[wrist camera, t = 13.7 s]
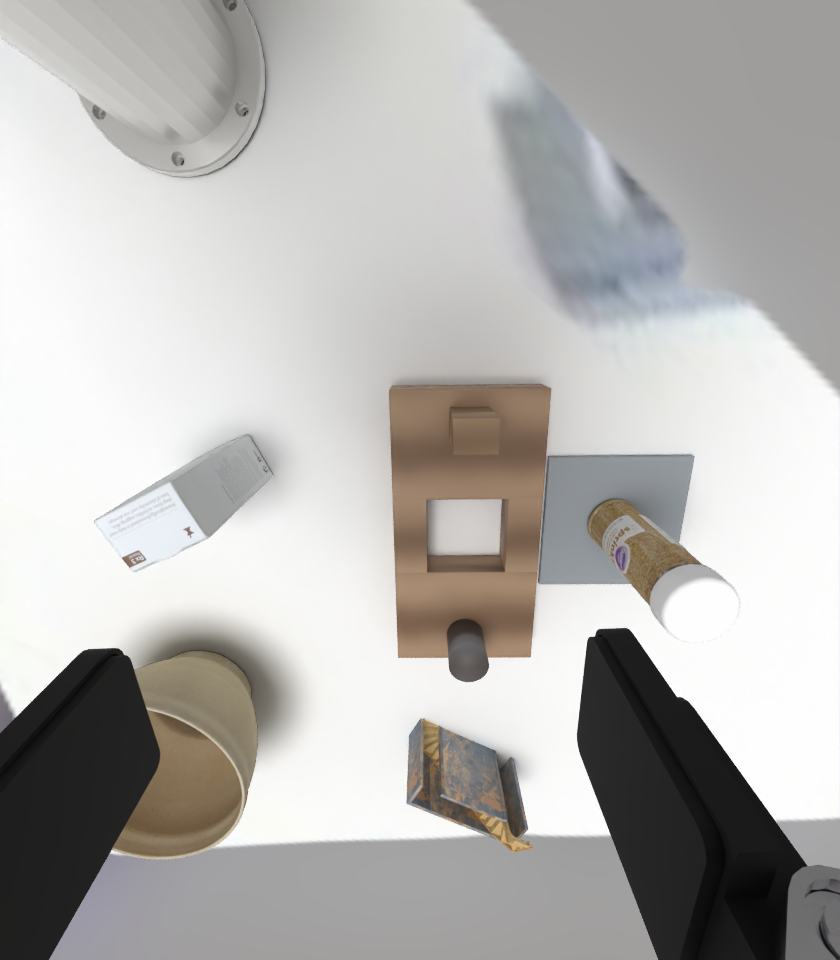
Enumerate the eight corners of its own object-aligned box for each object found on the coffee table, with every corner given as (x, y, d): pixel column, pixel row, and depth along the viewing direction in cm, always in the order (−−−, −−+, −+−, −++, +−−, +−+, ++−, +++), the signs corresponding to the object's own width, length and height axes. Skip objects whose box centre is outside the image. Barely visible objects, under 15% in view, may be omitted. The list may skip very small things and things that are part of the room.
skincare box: (248, 431, 37) (169, 474, 26) (276, 477, 39) (212, 537, 27) (187, 462, 38) (84, 517, 27) (217, 506, 39) (131, 576, 28)
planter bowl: (317, 684, 45) (285, 787, 35) (224, 770, 49) (171, 886, 39) (184, 588, 42) (106, 671, 32) (96, 688, 46) (0, 791, 35)
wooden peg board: (391, 385, 36) (383, 399, 28) (540, 384, 36) (572, 397, 28) (399, 636, 43) (394, 700, 36) (523, 636, 43) (544, 700, 36)
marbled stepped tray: (514, 751, 48) (536, 850, 39) (500, 770, 49) (517, 871, 40) (422, 712, 47) (422, 804, 38) (409, 731, 48) (405, 827, 38)
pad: (547, 456, 38) (549, 457, 37) (691, 454, 37) (694, 456, 37) (538, 581, 41) (539, 584, 41) (668, 580, 41) (671, 583, 41)
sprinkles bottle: (583, 503, 38) (662, 587, 26) (637, 493, 38) (744, 572, 25) (588, 550, 40) (666, 652, 27) (640, 540, 39) (743, 639, 27)
